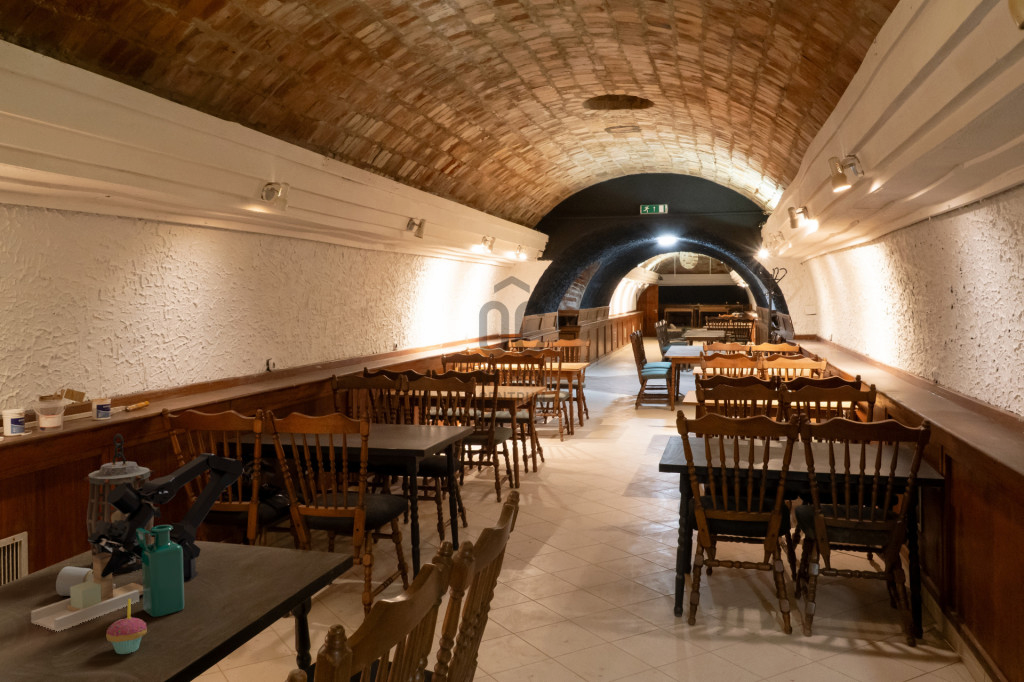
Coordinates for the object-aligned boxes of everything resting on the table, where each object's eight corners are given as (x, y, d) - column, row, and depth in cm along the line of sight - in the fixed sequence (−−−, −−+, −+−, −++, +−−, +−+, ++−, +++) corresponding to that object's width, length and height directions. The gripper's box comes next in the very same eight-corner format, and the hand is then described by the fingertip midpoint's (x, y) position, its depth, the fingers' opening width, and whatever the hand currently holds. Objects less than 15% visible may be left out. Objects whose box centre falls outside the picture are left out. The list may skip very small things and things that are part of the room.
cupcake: (116, 642, 189) (114, 592, 188) (153, 641, 190) (152, 591, 189) (100, 659, 180) (98, 606, 180) (139, 657, 181) (138, 605, 180)
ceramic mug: (85, 600, 215) (84, 572, 215) (55, 599, 215) (54, 571, 215) (106, 586, 226) (106, 559, 225) (78, 586, 226) (77, 559, 226)
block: (89, 599, 210) (88, 580, 210) (101, 603, 208) (100, 584, 207) (70, 606, 206) (70, 587, 205) (82, 609, 203) (82, 590, 203)
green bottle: (173, 600, 214) (171, 519, 213) (187, 609, 208) (184, 525, 207) (135, 611, 208) (133, 527, 206) (148, 620, 201) (145, 534, 200)
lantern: (171, 557, 250) (167, 429, 248) (128, 578, 231) (123, 440, 229) (117, 553, 254) (113, 427, 252) (70, 573, 236) (66, 438, 233)
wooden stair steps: (132, 586, 222) (131, 541, 222) (150, 591, 218) (149, 545, 218) (67, 609, 206) (65, 560, 206) (85, 615, 202) (83, 565, 202)
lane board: (113, 594, 219) (113, 583, 219) (139, 601, 214) (138, 590, 214) (31, 623, 200) (31, 611, 200) (57, 632, 195) (57, 620, 194)
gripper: (93, 502, 217) (54, 554, 209) (137, 512, 208) (98, 566, 199) (120, 524, 225) (84, 575, 216) (164, 534, 216) (128, 587, 207)
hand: (97, 575), depth 209 cm, fingers closed on wooden stair steps, 3 cm apart
